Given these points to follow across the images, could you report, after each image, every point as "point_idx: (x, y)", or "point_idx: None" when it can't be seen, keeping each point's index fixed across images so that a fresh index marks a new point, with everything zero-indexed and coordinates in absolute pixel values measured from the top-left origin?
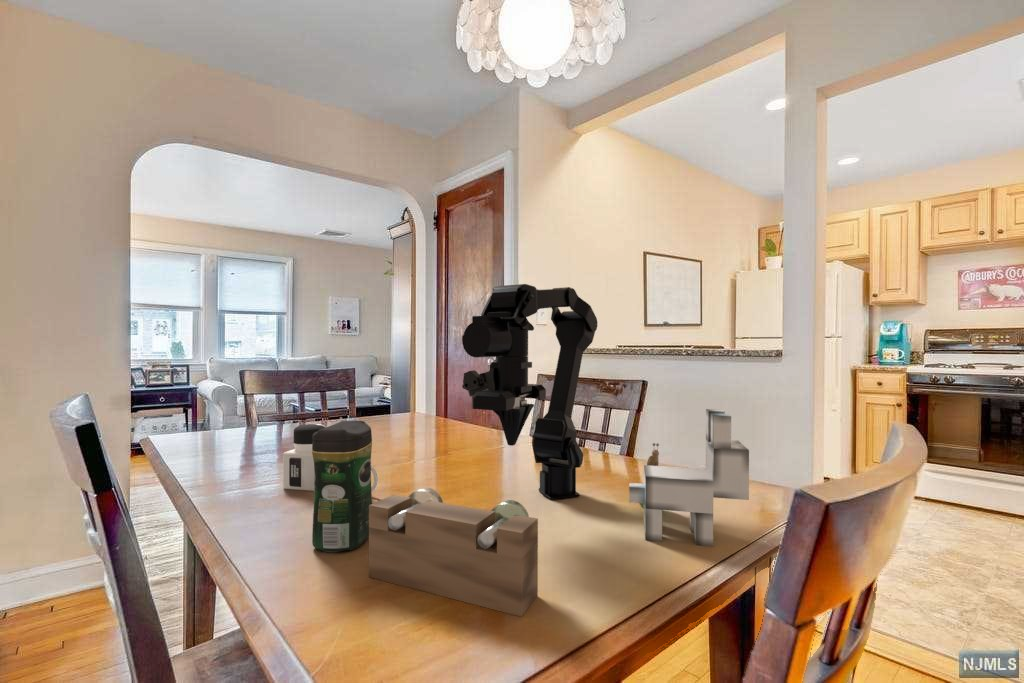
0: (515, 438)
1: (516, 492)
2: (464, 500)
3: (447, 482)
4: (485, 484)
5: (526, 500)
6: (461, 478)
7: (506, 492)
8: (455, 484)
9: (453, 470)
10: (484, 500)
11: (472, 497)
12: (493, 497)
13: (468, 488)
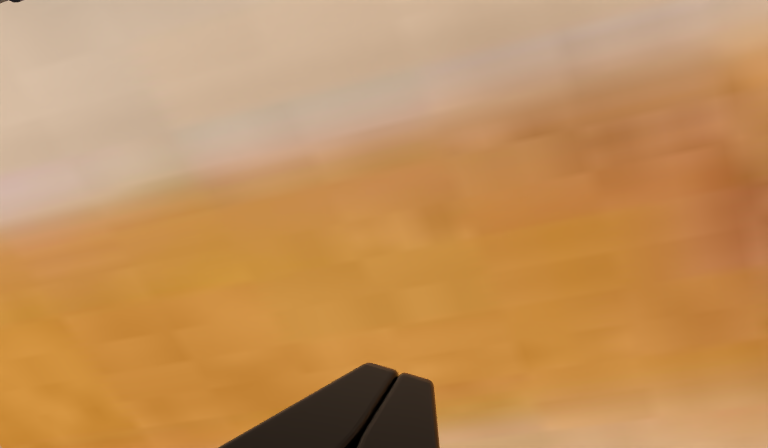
0: (416, 444)
1: (114, 118)
2: (346, 332)
3: (169, 426)
4: (100, 285)
5: (199, 30)
6: (94, 386)
7: (143, 169)
8: (173, 396)
9: (32, 425)
10: (305, 248)
11: (291, 307)
12: (244, 216)
13: (189, 342)
